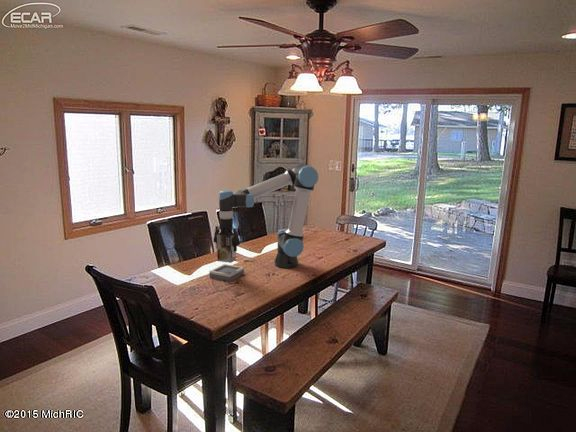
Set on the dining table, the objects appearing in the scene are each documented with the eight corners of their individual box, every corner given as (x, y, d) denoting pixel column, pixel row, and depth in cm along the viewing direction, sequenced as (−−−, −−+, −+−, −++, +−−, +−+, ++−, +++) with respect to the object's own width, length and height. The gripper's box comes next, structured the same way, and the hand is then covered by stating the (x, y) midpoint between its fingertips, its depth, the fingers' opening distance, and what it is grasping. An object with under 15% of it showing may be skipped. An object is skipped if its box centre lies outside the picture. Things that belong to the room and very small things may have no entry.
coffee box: (236, 260, 243) (236, 233, 239) (231, 263, 237) (230, 235, 233) (222, 258, 246) (221, 231, 242) (216, 261, 240) (216, 234, 236)
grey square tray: (244, 273, 247) (244, 267, 246) (230, 281, 233) (229, 275, 233) (224, 269, 252) (224, 263, 252) (209, 277, 239) (209, 271, 238)
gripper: (246, 218, 235) (246, 256, 239) (214, 214, 244) (214, 251, 248) (239, 221, 228) (239, 260, 232) (206, 216, 237) (207, 254, 242)
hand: (226, 255), depth 240 cm, fingers closed on coffee box, 9 cm apart
